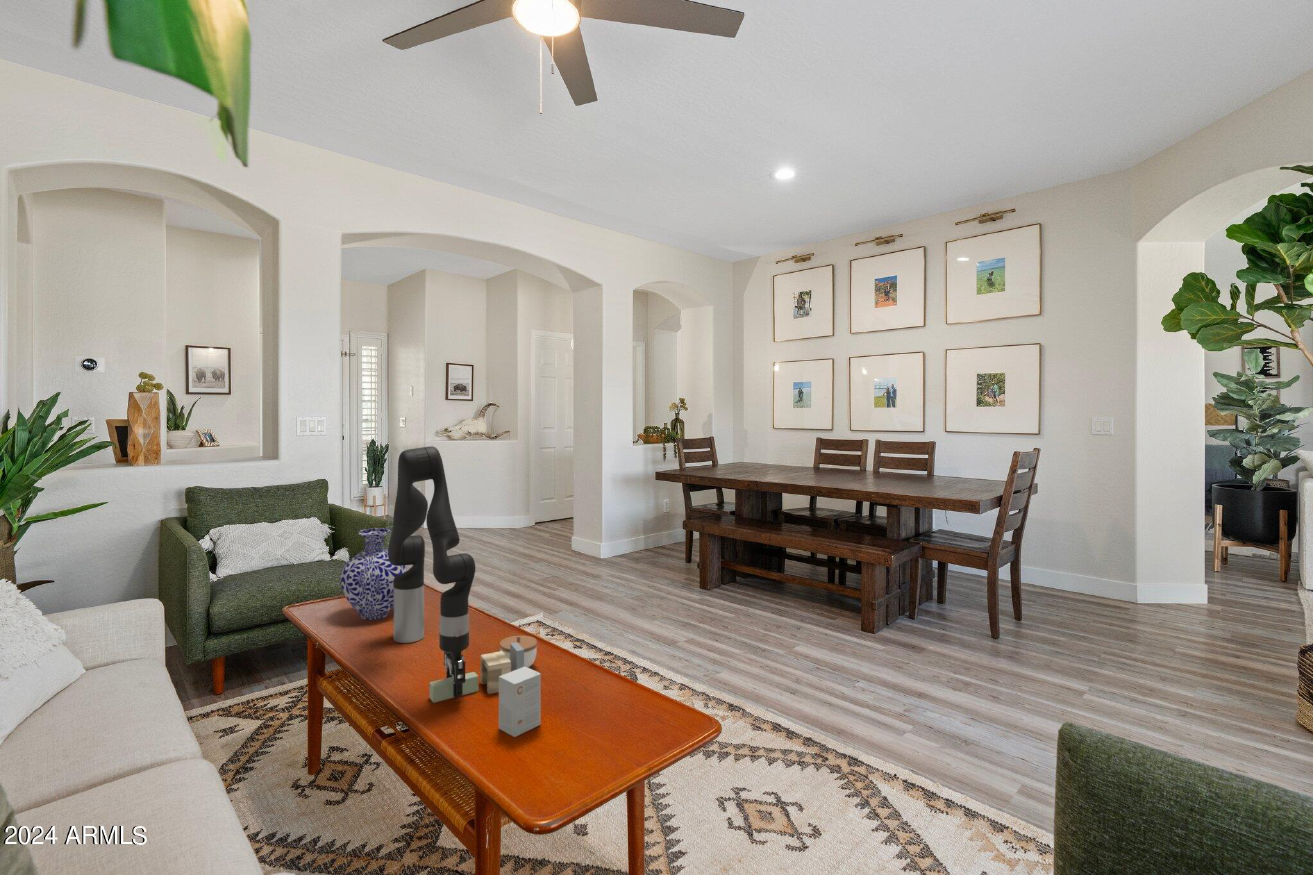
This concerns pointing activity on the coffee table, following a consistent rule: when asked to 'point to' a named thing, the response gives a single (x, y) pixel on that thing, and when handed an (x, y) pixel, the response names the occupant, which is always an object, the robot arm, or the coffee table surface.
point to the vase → (371, 577)
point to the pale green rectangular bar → (445, 687)
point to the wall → (516, 656)
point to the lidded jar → (526, 643)
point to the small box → (519, 701)
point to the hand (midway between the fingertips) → (454, 690)
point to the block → (494, 669)
